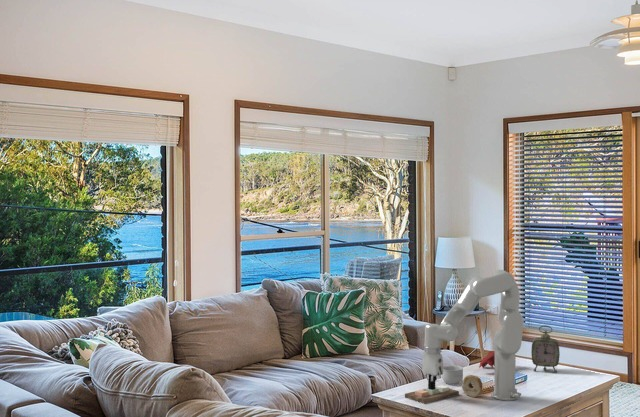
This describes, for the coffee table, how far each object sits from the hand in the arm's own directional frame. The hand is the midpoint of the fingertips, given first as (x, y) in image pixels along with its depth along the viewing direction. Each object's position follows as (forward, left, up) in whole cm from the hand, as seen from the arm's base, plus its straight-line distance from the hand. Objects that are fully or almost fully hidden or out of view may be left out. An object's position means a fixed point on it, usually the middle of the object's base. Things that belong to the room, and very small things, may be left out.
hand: (431, 388), depth 331 cm
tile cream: (0, -7, -3) cm, 8 cm away
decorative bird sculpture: (+17, -65, -4) cm, 68 cm away
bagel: (-11, -16, -4) cm, 20 cm away
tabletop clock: (-2, -86, -4) cm, 86 cm away
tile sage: (0, 0, -2) cm, 3 cm away
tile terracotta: (0, +7, -3) cm, 7 cm away
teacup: (+11, -27, -4) cm, 30 cm away
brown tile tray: (0, 0, -4) cm, 4 cm away
